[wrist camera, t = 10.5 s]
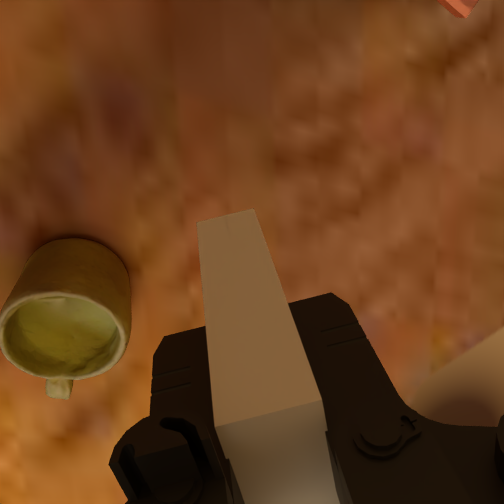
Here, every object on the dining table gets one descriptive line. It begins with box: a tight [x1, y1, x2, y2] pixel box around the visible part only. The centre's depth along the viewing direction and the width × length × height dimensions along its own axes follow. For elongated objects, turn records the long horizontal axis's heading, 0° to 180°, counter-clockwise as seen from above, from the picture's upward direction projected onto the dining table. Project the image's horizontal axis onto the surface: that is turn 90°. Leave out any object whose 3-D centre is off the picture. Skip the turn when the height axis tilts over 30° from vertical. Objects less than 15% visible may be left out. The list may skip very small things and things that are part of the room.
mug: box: [0, 238, 132, 399], centre depth 39 cm, size 12×10×10 cm
